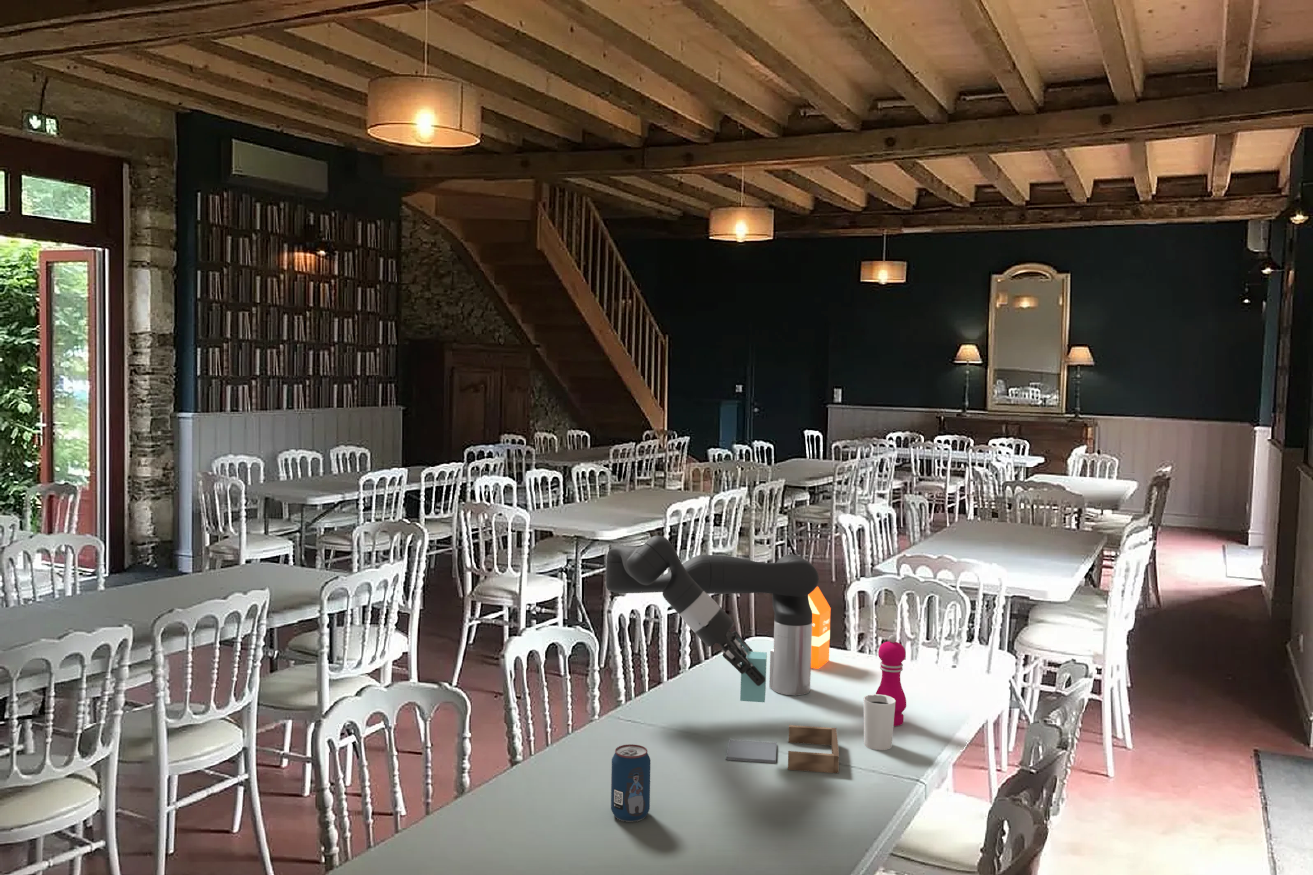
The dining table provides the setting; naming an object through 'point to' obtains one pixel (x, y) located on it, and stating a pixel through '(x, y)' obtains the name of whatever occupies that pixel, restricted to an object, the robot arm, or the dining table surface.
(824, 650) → the orange juice
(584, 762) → the dining table surface
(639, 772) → the soda can
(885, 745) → the white paper cup
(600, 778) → the dining table surface
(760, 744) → the slate mat
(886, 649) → the pepper mill
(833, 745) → the walnut cubby
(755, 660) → the teal block
